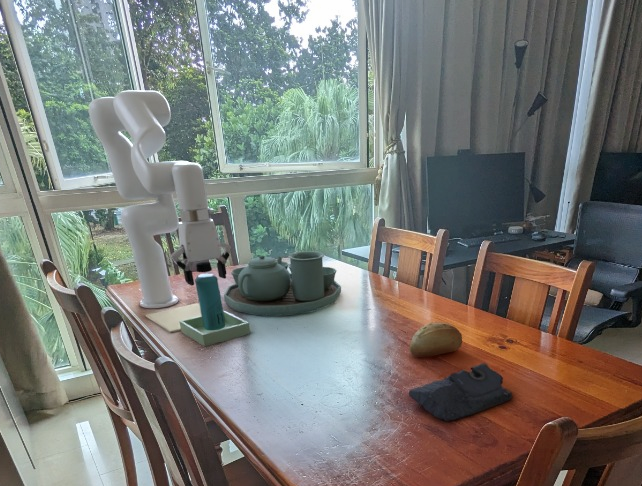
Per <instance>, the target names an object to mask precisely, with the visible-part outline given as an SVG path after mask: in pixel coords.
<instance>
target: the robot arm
mask: <svg viewBox="0 0 642 486" xmlns="http://www.w3.org/2000/svg"><path fill="white" fill-rule="evenodd" d="M171 112H172V111H171V107H170V105H169V102H168V100H167V99H166V97H165V96H164V95H163V94H162V93H161V92H159V91H157V90H135V89H133V90H132V89H129V90H123V91H120V92H118V93H116V95H115V96H103V97H98V98H95V99H93V100H91V101H90V103H89V105H88V114H89V120H90V123H91V126H92V129H93V131H94V132H95V134H96V136H97V138H98V140H99V142H100V143H101V145H102V147H103V150H104V151H105V153H106V156H107V160H108V163H109V166H110V170H111V173H112V176H113V181H114V184H115V187H116V189H117V192H118V194H119V196H120V197H121V198H122V199H123V200H127V201H128V200H129V201H137V200H146V199H155V202H149V203H147V202H144V203H138V204H137V203H136V204H131V205H128V206H125V207H123V209H122V210H121V212H120V221H121V224H122V226H123V229H124V231H125V234H126V236H127V239H128V242H129V245H130V248H131V252H132V256H133V262H134V264H135V268H136V274H137V277H138V281H139V285H140V290H141V293H142V299H141V300H140V301H139V305H140V307H142V308H145V309H162V308H168V307H170V306H171V307H172V306H173V305H175V304H177V303H178V302H179V298H178V296H176V295H174V294H173V291H172V286H171V281H170V277H169V271H168V268H167V267H168V266H167V262H166V258H165V253H164V250H163V247H162V246H161V244H160V243H158V241H156V240H155V239H154V237H153V236H157V235H164V234H169V233H174V232H176V231H177V230H178V242H179V247H178V248H177V249H176V250H175V251H174V252H172V253H171V254H170V258H171V259H172V261H173V262H174V263H175V266H177V267H179V268H180V269H181V270H183V276H184V280H185V282H186V283H187V285H189V286H195V279H194V275H193V271H192V270H191V267H192V265H193V263H200V262H206V261H209V260H210V261H211V260H216V261H217V262H216V268H217V273H218V274H217V275H218V277H219V278H221V279H227V267H226V264H227V261H228V259H229V257H230V253H231V250H232V245H230V244H227V243H225V242H222V241H220V238H219V234H218V230H217V227H216V225H215V222H214V220H213V219H212V215H215V210H214V208H210V207H209V202H208V194H207V188H206V183H205V182H206V181H205V176H204V170H203V167H202V166H201V164H200V163H197V162H189V161H187V160H174V161H173V160H172V161H157V162H150V161H148V160H147V159H149V158H151V157H152V156H154V155H155V154H157V153H158V152H160V151H161V150H162V149H163V147H165V143H166V141H167V135H166V132H165V130H164V127H166V126H168V125H169V123H170V121H171V118H172V114H171ZM121 132H126V133H128V135H129V136H130V138H131V139H132V141H133V142H131V141H130V140H129V139H128V138H127V137H126V136H125V135H124V134H123V133H121ZM174 194H176V200H177V205H178V210H177V206H176V202H175V199H174ZM178 211H179V214H178ZM179 215H180V216H179ZM179 217H180V219H179ZM222 249H223V252H222ZM180 256H181V259H182V260H183V261H181V260H180V258H179V257H180Z"/></svg>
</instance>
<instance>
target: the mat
mask: <svg viewBox="0 0 642 486" xmlns="http://www.w3.org/2000/svg"><path fill="white" fill-rule="evenodd" d="M198 316H202V315H201V310H200V305H199V302H196V303H192V304H187V305H183V306H179V307H174V308H169V309H166V310H162V311H157V312H152V313H149V314H145V318H147V319H149V320H150V321H152V322H153V323H155V324H156V325H158V326H159V327H161V328H163V329H164V330H166V331H168V332H169V333H171V334H173V333H176V332H180V331H181V327H180V323H179V321H182V320H186V319H190V318H194V317H198Z"/></svg>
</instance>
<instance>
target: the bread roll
mask: <svg viewBox="0 0 642 486" xmlns="http://www.w3.org/2000/svg"><path fill="white" fill-rule="evenodd" d="M462 344H463V334H462V332H460V330H459V329H458V328H457V327H455V325H452V324H449V323H446V322H430V323H426V324H424V325H422V326H421V327H420V328H418V330H417V331H416V332H415V333H414V334H413V336H412V338H411V341H410V343H409V351H410V355H412V356H413V357H415V358H428V357H434V356H437V355H443V354H447V353H452V352H456V351H458V350H459V349H460V348H461V347H462V346H463V345H462Z"/></svg>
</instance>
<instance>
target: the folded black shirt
mask: <svg viewBox="0 0 642 486" xmlns="http://www.w3.org/2000/svg"><path fill="white" fill-rule="evenodd" d="M470 370H471V371H468V370H465V369H462V370H460V371H458V372H452V373H450V374H449V375H448V376H446V377H445V378H444V379H441V380H433V381H432V382H429V383H426V384H424V385H422V386H418V387H414V388H412V389H409V391H408V397H410V398H411V399H412V400H413V401H415V402H416V403H417V404H419V405H420V406H421V407H423V408H424V410H425V411H426V412H427V413H429V414H431V415H432V416H434V417H435V418H437V419H439V420H441V421H445V422H450V421H455V420H460V419H463V418H466V417H468V416H473V415H475V414H478V413H481V412H483V411H485V410H488V409H491V408H493V407H495V406H499V405H502V404H504V403H505V402H507V401H510V400H511V399H512V398H513V395H512V392H511V391H509V390H507V388H504V387H503V384H504V383H503V381H504V377H503V376H502V375H501V374H500V373H498V372H497V371H496V370H494V369H492V368H490V366H489V365H488V364H487V363H485V362H482V363H479V364H478V365H475V366H471V367H470Z"/></svg>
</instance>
